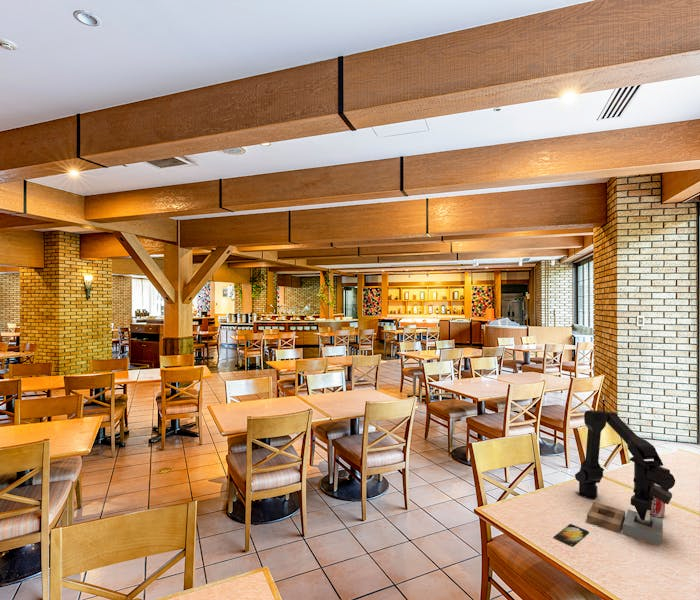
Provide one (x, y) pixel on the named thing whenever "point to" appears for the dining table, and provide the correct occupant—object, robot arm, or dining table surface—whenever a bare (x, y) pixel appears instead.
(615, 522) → the walnut mount
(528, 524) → the dining table surface
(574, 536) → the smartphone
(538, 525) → the dining table surface
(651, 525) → the slate socket
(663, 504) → the soda can
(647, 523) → the steel pin
